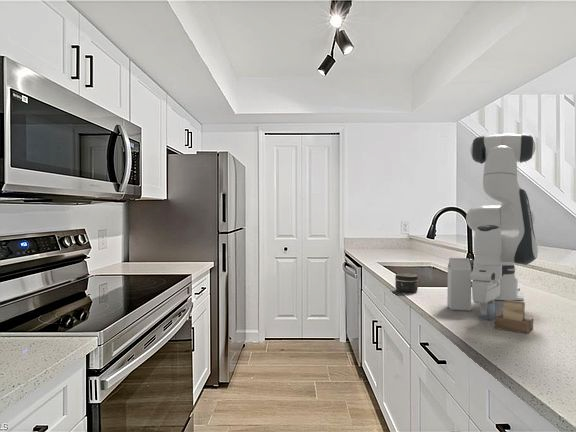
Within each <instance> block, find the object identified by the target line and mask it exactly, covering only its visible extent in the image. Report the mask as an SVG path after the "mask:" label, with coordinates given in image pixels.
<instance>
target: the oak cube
mask: <svg viewBox="0 0 576 432" xmlns="http://www.w3.org/2000/svg"><path fill="white" fill-rule="evenodd" d="M502 305H503V306H502V308H503V311H502V312H503V318H504V319H511V320H518V321H522V320H523V319H524V318H525V317H526V315H525V314H526V302H525V301H522V300H504V301H503V304H502Z"/></svg>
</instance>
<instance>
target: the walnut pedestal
mask: <svg viewBox="0 0 576 432" xmlns="http://www.w3.org/2000/svg"><path fill="white" fill-rule="evenodd" d="M533 328H534V317H531V316H525V318H524V319H523V320H522V321H518V320H511V319H504V318H503V313H500V314H499V315H498V316H495V319H494V329H499V330H503V331H510V332H514V333H515V332H517V333H522V334H528V333H529V332H530V331H531V330H532V329H533Z"/></svg>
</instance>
